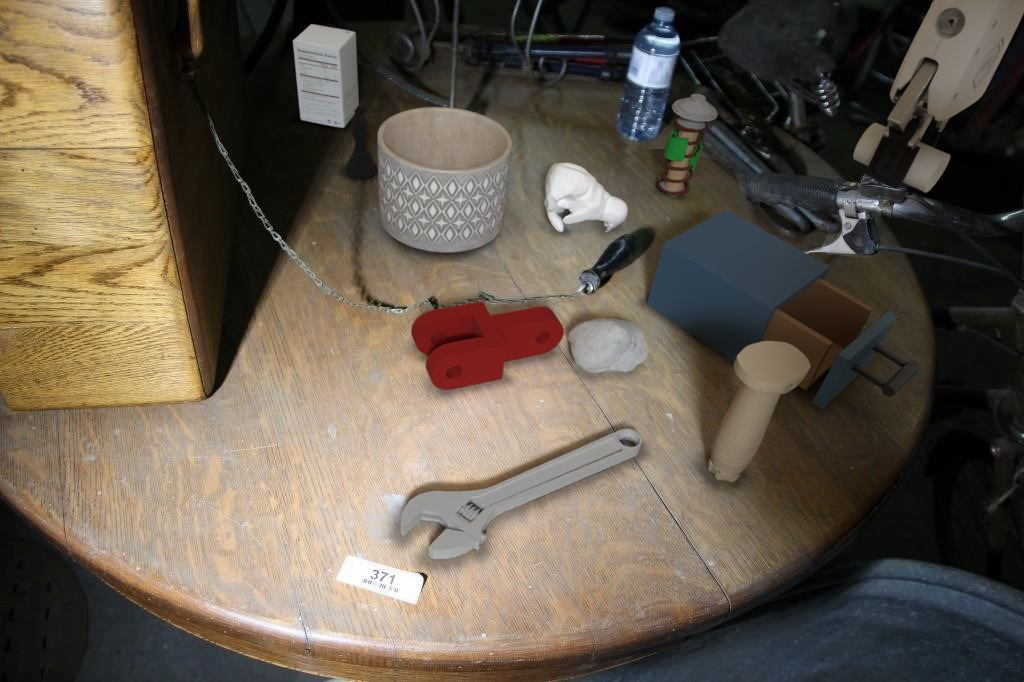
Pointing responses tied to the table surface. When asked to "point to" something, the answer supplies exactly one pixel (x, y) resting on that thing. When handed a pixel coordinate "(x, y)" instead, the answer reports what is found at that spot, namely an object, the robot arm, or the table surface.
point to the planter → (443, 178)
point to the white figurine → (580, 198)
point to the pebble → (608, 345)
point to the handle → (754, 403)
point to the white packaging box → (326, 75)
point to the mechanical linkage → (481, 341)
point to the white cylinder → (922, 169)
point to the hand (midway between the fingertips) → (893, 172)
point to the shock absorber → (685, 143)
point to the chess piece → (360, 150)
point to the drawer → (836, 340)
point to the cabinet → (729, 281)
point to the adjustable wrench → (509, 494)
